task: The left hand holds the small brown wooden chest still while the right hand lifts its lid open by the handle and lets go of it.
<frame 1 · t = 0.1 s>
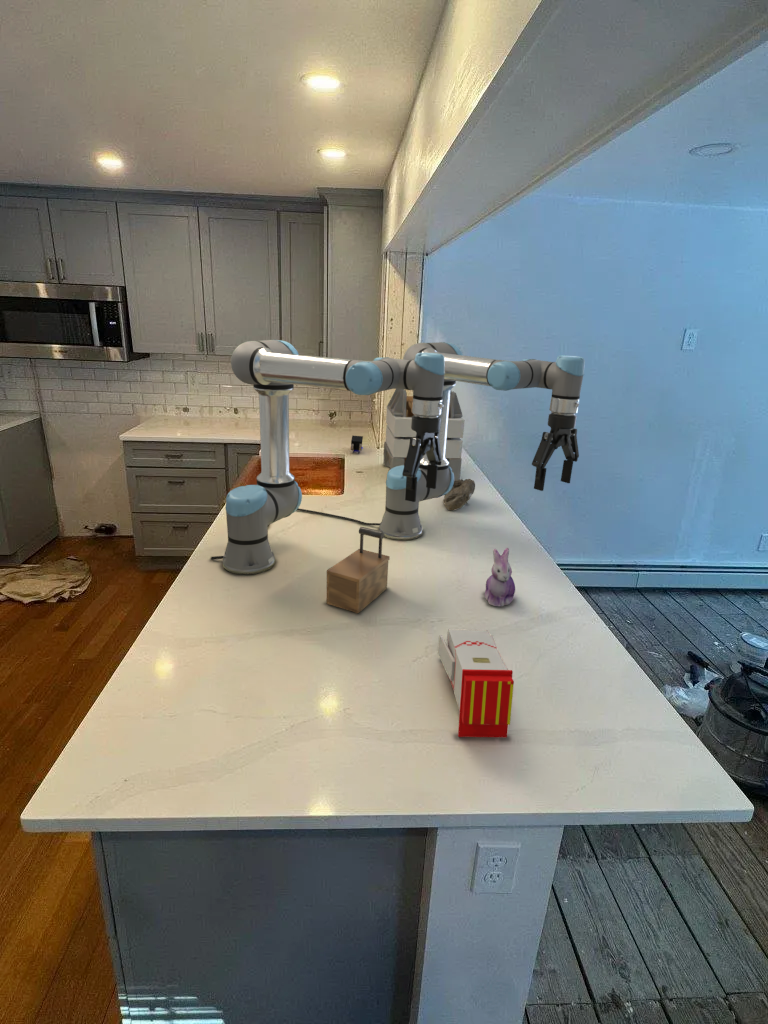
left hand: (421, 494, 153), 28 cm above the counter, tool pointing down, fingers open, 13 cm apart
right hand: (552, 485, 166), 28 cm above the counter, tool pointing down, fingers open, 13 cm apart
figurine: (499, 599, 157), on the counter
fossil: (457, 503, 234), on the counter
lid: (359, 551, 152), point 13 cm above the counter, hinge at 0.0°
chest: (357, 596, 156), on the counter
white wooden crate: (419, 473, 275), on the counter
feather: (274, 516, 211), on the counter
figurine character: (356, 451, 311), on the counter
toy: (469, 691, 119), on the counter
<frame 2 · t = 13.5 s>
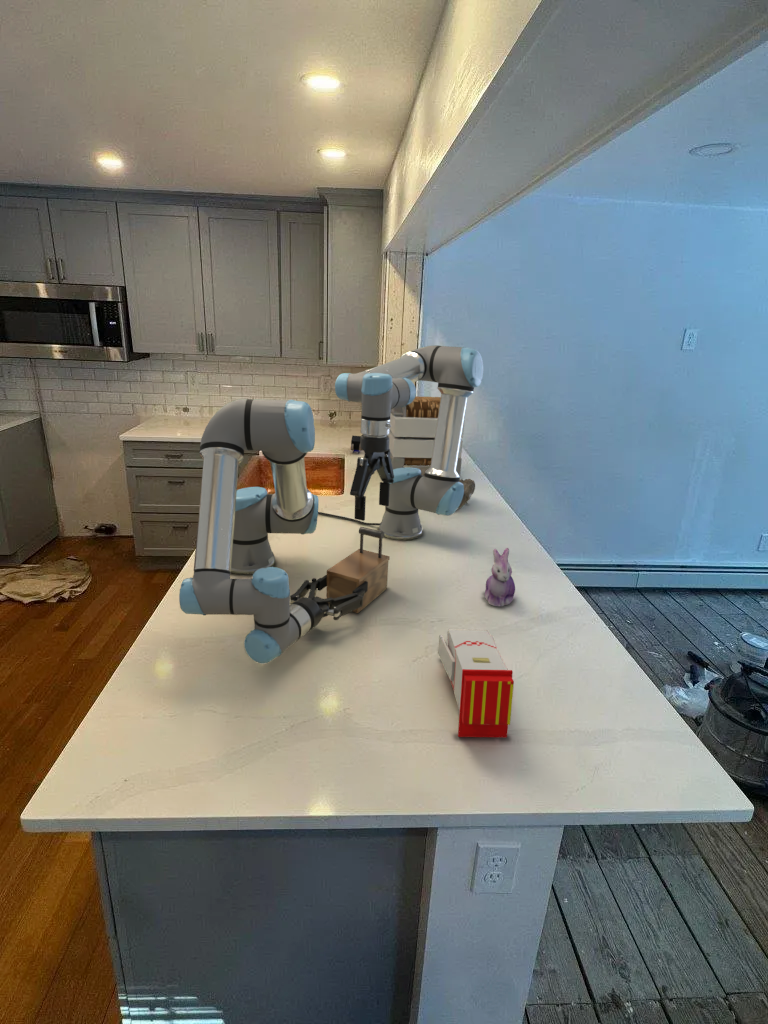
left hand: (349, 581, 150), 7 cm above the counter, tool horizontal, fingers closed on chest, 10 cm apart
right hand: (372, 512, 154), 23 cm above the counter, tool pointing down, fingers open, 13 cm apart
chest: (357, 595, 156), on the counter, touching left hand
everything else where it was.
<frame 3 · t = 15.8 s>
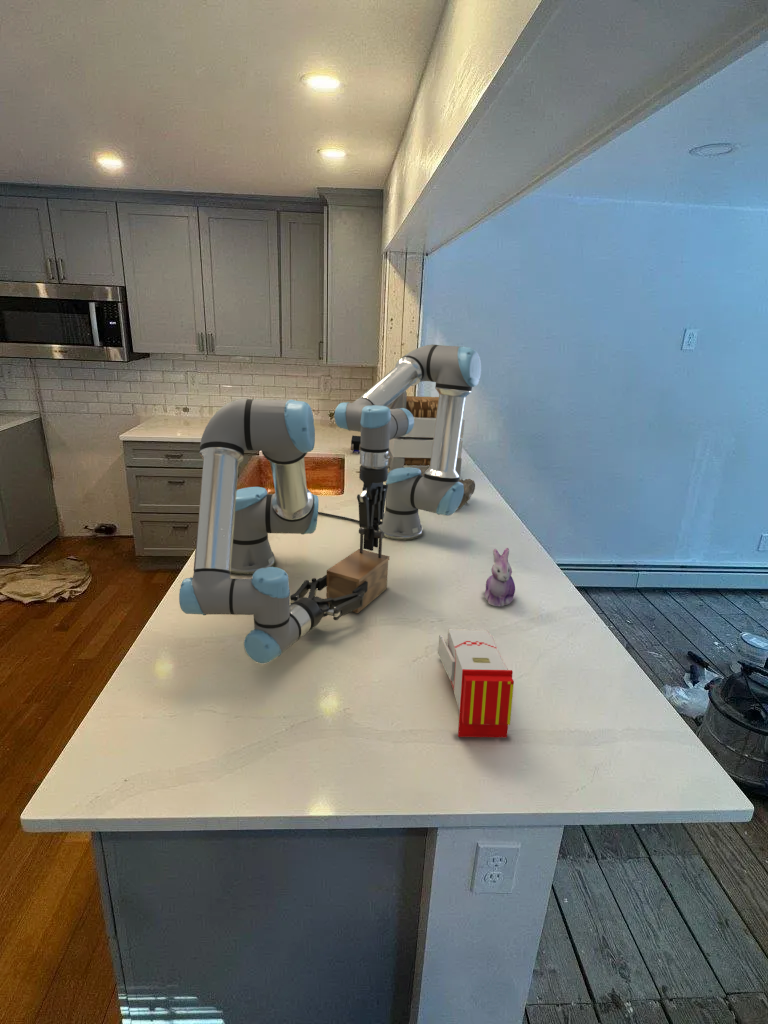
left hand: (348, 581, 149), 7 cm above the counter, tool horizontal, fingers closed on chest, 10 cm apart
right hand: (370, 547, 157), 12 cm above the counter, tool pointing down, fingers closed on lid, 2 cm apart
lid: (359, 551, 152), point 13 cm above the counter, hinge at -0.1°, touching right hand
chest: (357, 595, 156), on the counter, touching left hand
everything else where it was.
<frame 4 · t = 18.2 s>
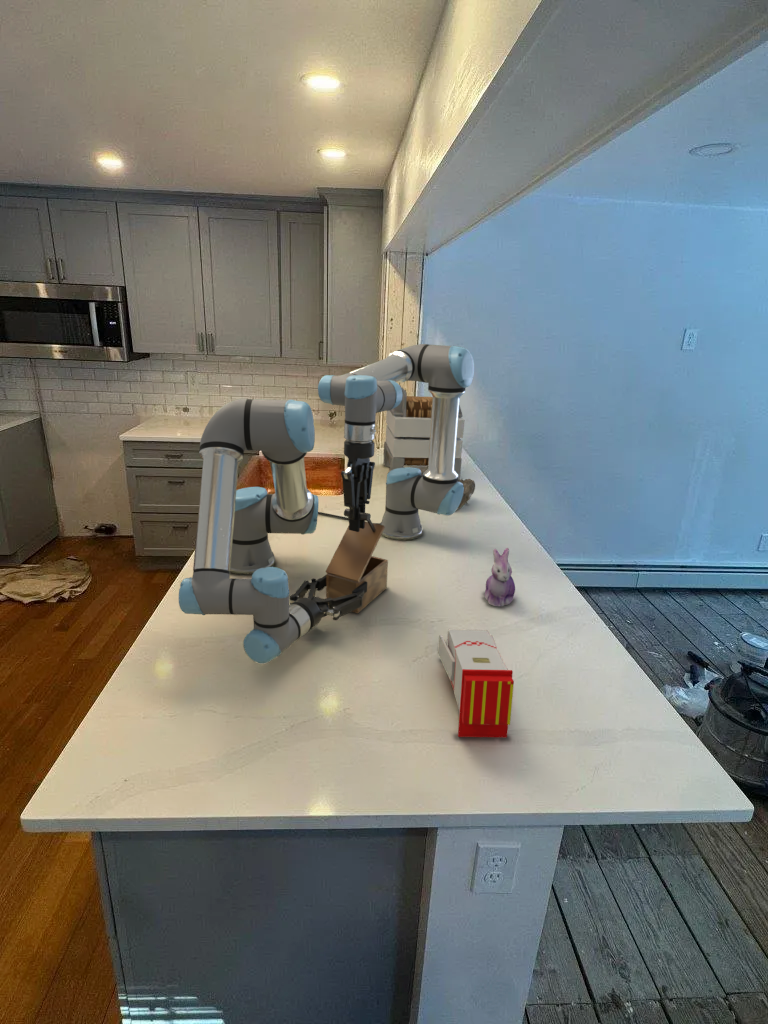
left hand: (348, 581, 149), 7 cm above the counter, tool horizontal, fingers closed on chest, 10 cm apart
right hand: (356, 528, 148), 20 cm above the counter, tool pointing down, fingers closed on lid, 2 cm apart
lid: (351, 541, 146), point 18 cm above the counter, hinge at 38.0°, touching right hand
chest: (357, 595, 156), on the counter, touching left hand
everything else where it was.
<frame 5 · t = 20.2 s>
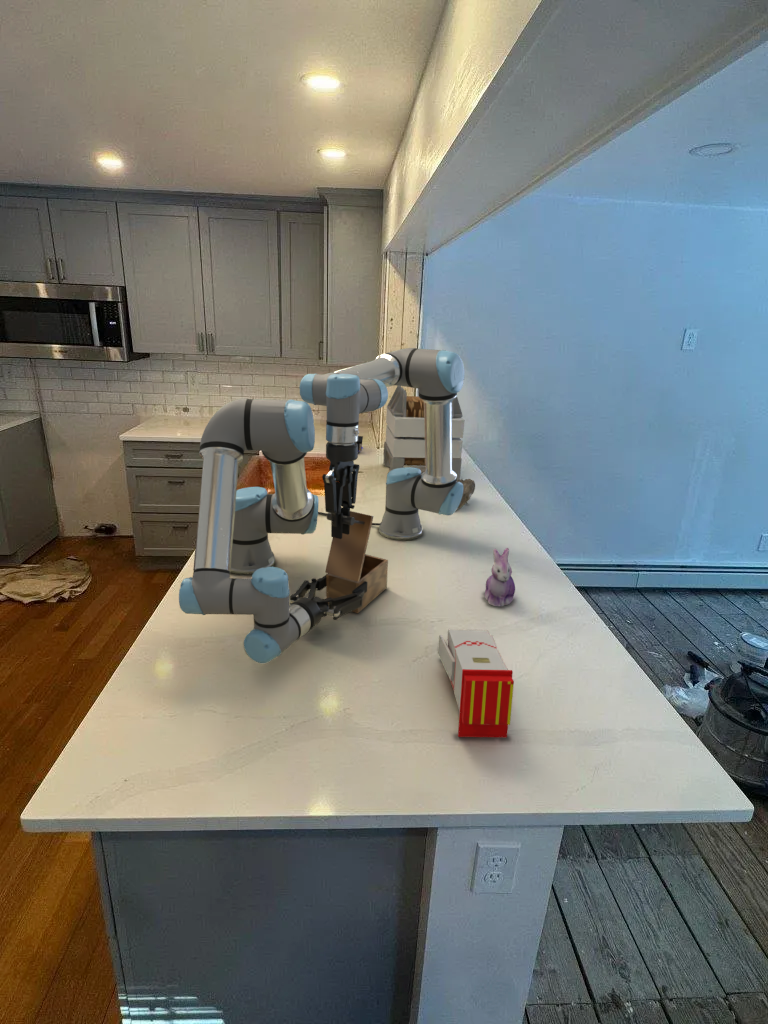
left hand: (348, 581, 149), 7 cm above the counter, tool horizontal, fingers closed on chest, 10 cm apart
right hand: (340, 535, 141), 21 cm above the counter, tool pointing down, fingers open, 3 cm apart
lid: (341, 544, 142), point 19 cm above the counter, hinge at 67.4°
chest: (357, 595, 156), on the counter, touching left hand
everything else where it was.
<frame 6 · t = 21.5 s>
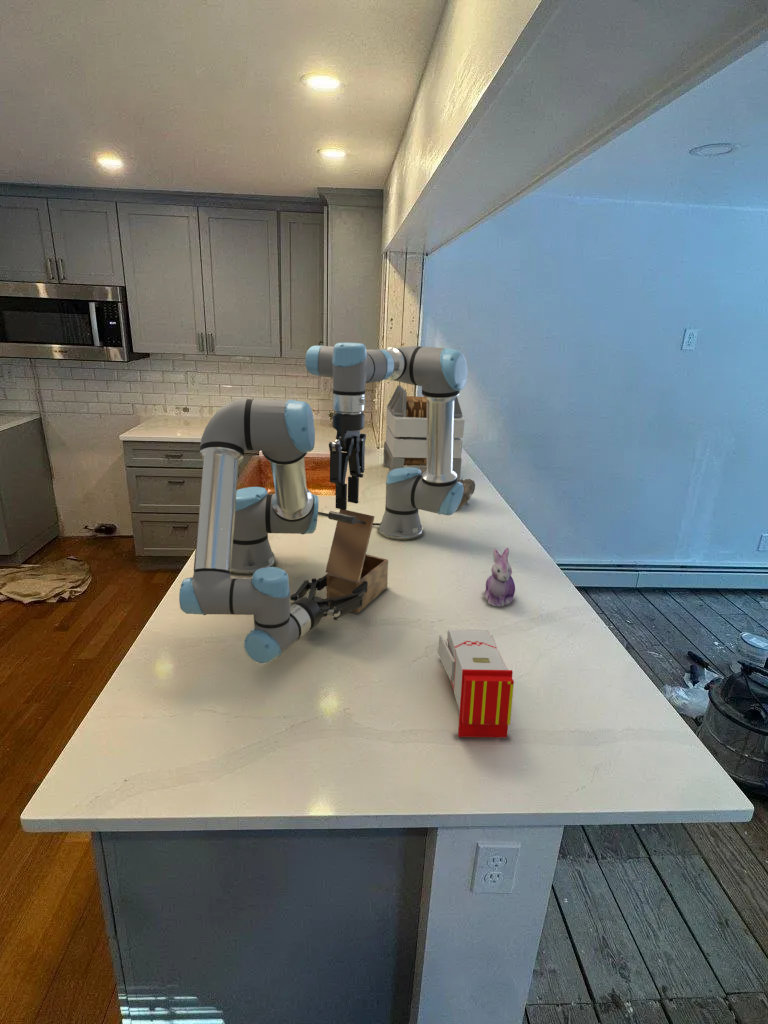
left hand: (348, 581, 150), 7 cm above the counter, tool horizontal, fingers closed on chest, 10 cm apart
right hand: (347, 505, 141), 28 cm above the counter, tool pointing down, fingers open, 5 cm apart
lid: (342, 543, 142), point 19 cm above the counter, hinge at 65.4°
chest: (357, 595, 156), on the counter, touching left hand
everything else where it was.
when the left hand's fingers open (7 cm above the counter, at t = 24.1 s): chest stays where it is, on the counter.
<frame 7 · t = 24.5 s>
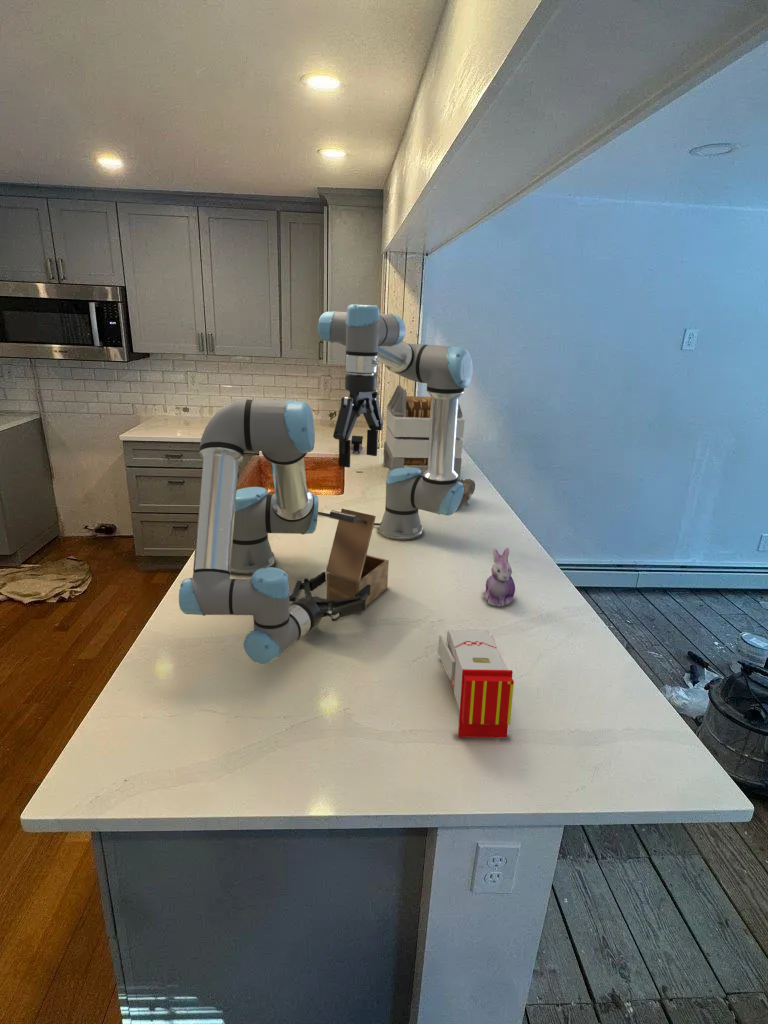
left hand: (346, 582, 148), 7 cm above the counter, tool horizontal, fingers open, 13 cm apart
right hand: (358, 460, 141), 39 cm above the counter, tool pointing down, fingers open, 13 cm apart
lid: (343, 542, 143), point 19 cm above the counter, hinge at 65.0°
chest: (357, 595, 156), on the counter
everything else where it was.
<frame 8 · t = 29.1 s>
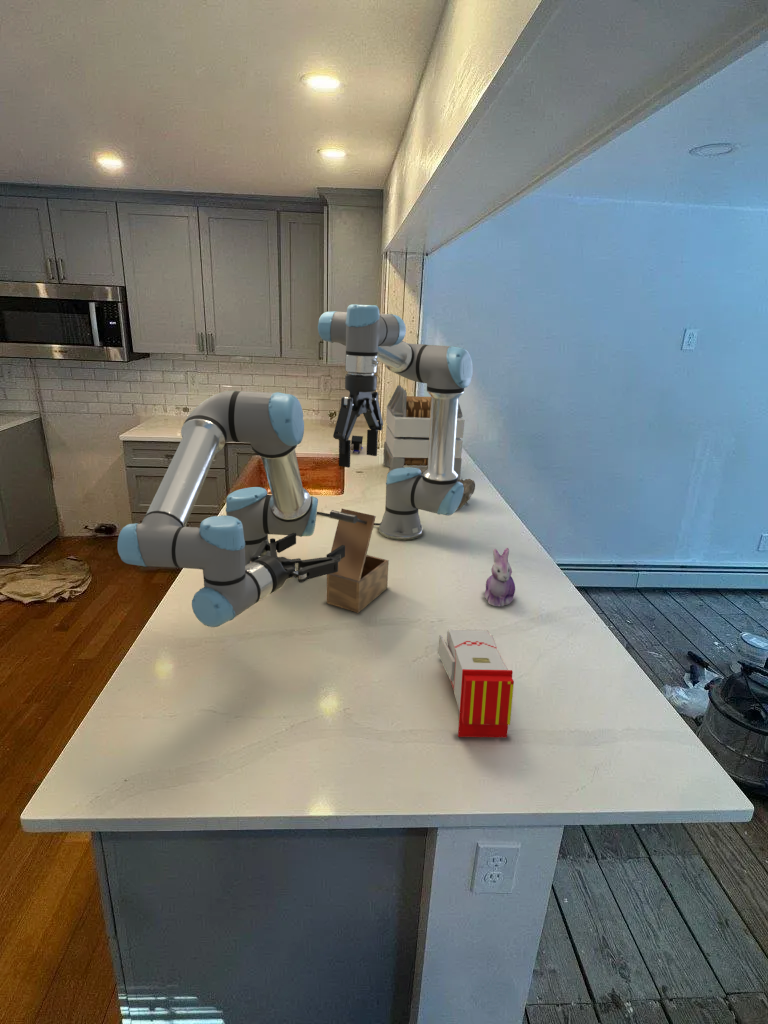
left hand: (318, 544, 132), 22 cm above the counter, tool horizontal, fingers open, 13 cm apart
right hand: (358, 460, 141), 39 cm above the counter, tool pointing down, fingers open, 13 cm apart
nothing on the counter moved.
at the end: lid at +65° (first picture: +0°); the left hand is holding nothing; the right hand is holding nothing; chest tilted 0°; chest never tilted more than 2° during the clip; chest moved 0.2 cm from its start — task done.
